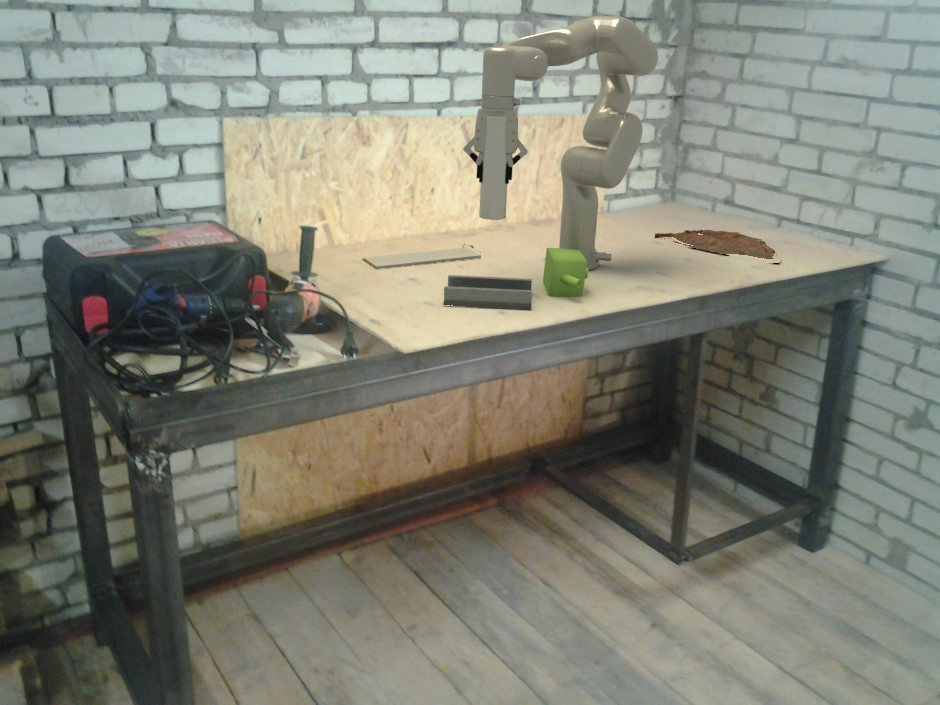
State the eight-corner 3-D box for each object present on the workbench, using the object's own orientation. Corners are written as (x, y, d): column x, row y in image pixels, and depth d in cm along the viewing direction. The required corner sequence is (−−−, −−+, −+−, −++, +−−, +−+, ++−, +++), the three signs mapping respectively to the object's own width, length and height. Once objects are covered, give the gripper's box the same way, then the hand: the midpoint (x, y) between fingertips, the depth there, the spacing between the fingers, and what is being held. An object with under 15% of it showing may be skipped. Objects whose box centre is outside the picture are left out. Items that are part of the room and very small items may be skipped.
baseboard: (360, 260, 238) (376, 272, 228) (360, 250, 237) (376, 261, 227) (461, 250, 251) (481, 260, 241) (461, 240, 250) (481, 250, 240)
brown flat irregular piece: (651, 246, 271) (652, 230, 269) (715, 237, 285) (716, 222, 284) (754, 269, 239) (756, 251, 237) (820, 258, 254) (822, 241, 252)
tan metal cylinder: (489, 213, 215) (494, 108, 206) (511, 217, 211) (516, 110, 203) (473, 216, 210) (477, 109, 201) (495, 221, 206) (501, 112, 198)
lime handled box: (592, 304, 206) (597, 266, 203) (551, 302, 205) (555, 263, 202) (579, 281, 223) (584, 245, 219) (541, 279, 222) (545, 243, 219)
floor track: (530, 293, 211) (531, 277, 210) (530, 310, 199) (531, 293, 198) (448, 289, 212) (449, 273, 211) (443, 306, 200) (443, 289, 199)
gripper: (535, 104, 204) (530, 181, 211) (462, 100, 206) (459, 177, 212) (534, 106, 197) (529, 186, 204) (459, 103, 199) (456, 183, 205)
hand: (494, 181), depth 208 cm, fingers closed on tan metal cylinder, 5 cm apart
